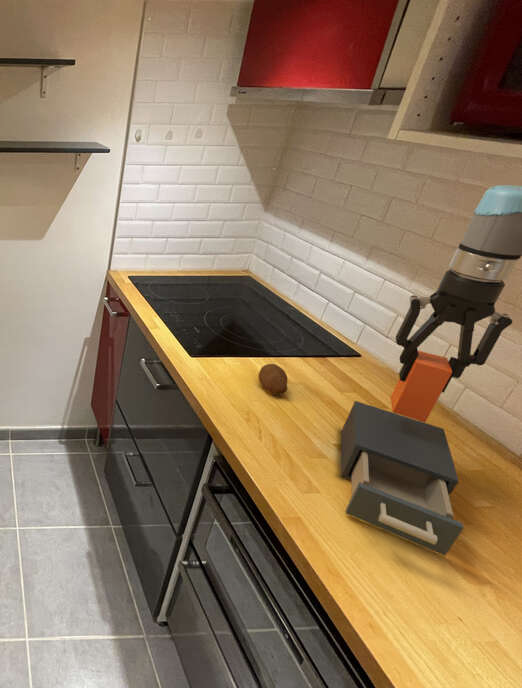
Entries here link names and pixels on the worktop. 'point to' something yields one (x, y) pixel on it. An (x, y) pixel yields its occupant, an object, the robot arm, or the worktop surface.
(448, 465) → the cabinet
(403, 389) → the box
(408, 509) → the drawer
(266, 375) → the potato
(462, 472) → the worktop surface
